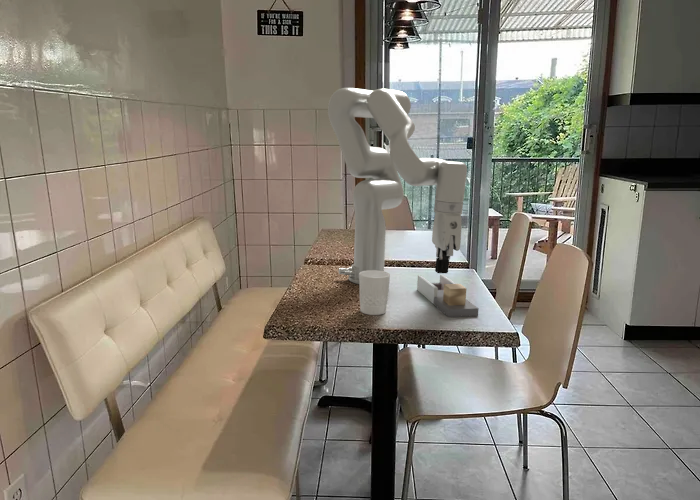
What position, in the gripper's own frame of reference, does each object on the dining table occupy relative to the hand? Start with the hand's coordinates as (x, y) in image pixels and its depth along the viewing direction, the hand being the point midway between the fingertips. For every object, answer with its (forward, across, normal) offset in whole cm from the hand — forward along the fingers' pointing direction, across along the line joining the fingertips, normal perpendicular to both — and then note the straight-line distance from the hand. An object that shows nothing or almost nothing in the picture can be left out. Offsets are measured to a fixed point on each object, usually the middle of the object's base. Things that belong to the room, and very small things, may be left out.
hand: (441, 272), depth 150 cm
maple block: (+5, -10, 0) cm, 11 cm away
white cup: (+8, -8, +21) cm, 24 cm away
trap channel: (+8, -3, -1) cm, 8 cm away
